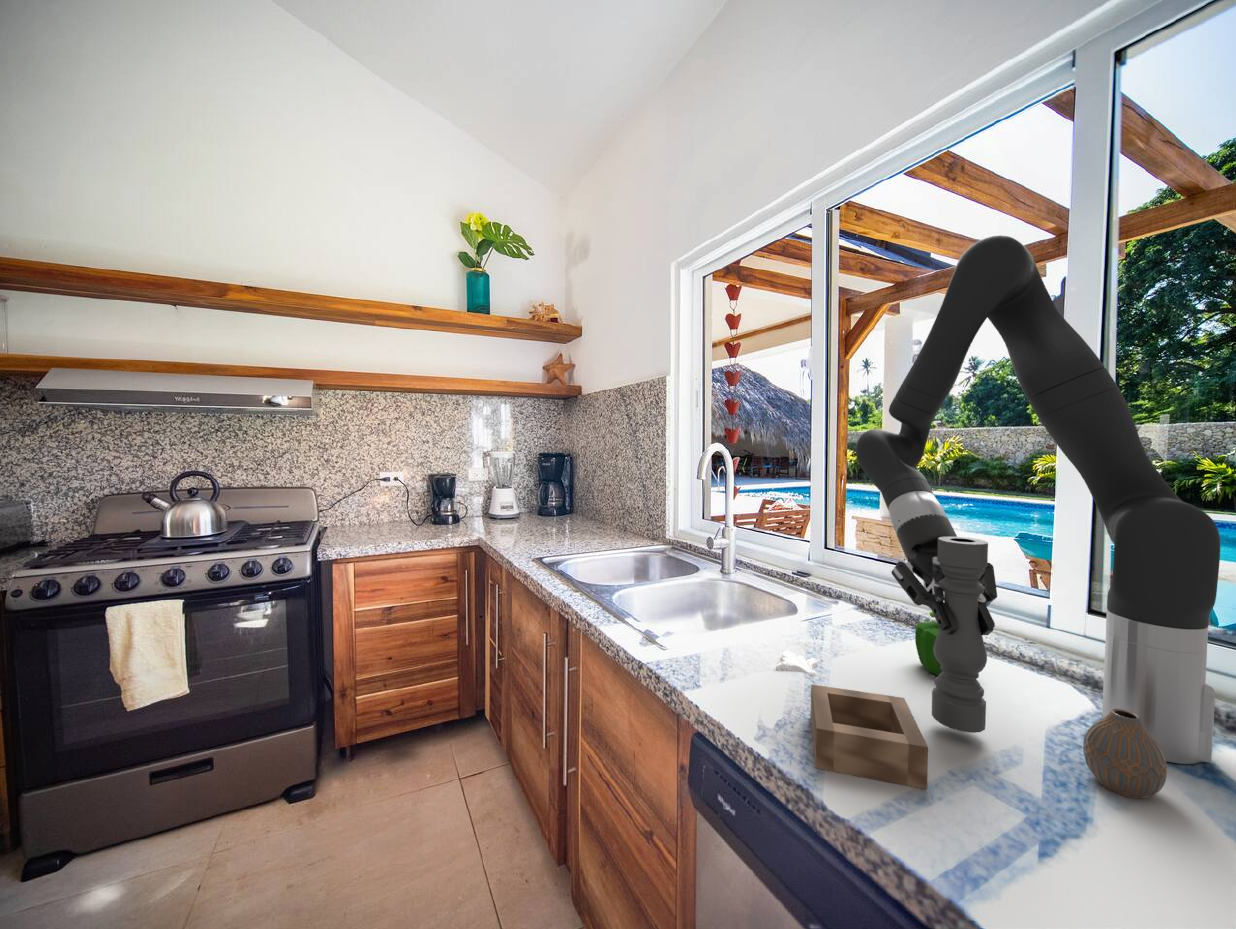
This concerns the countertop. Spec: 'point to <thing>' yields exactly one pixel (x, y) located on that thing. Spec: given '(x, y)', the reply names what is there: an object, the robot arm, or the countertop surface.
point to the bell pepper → (927, 645)
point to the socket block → (867, 736)
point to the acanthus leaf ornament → (797, 663)
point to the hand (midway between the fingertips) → (969, 631)
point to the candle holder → (961, 637)
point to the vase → (1125, 755)
